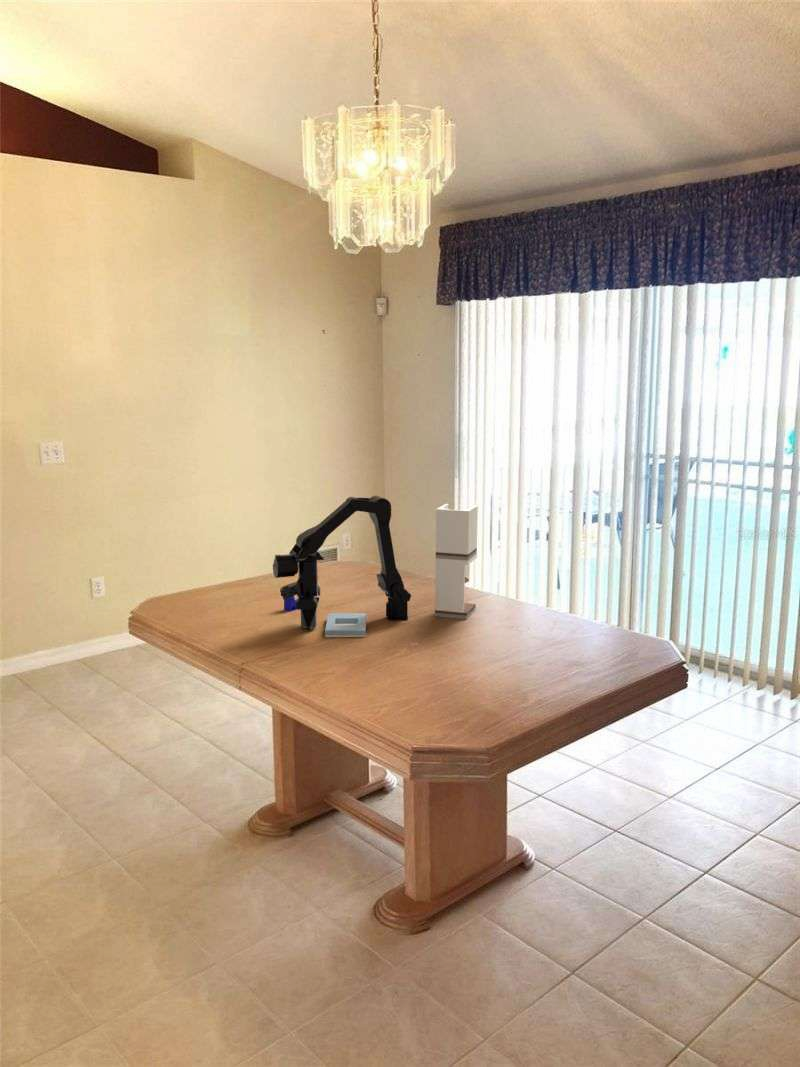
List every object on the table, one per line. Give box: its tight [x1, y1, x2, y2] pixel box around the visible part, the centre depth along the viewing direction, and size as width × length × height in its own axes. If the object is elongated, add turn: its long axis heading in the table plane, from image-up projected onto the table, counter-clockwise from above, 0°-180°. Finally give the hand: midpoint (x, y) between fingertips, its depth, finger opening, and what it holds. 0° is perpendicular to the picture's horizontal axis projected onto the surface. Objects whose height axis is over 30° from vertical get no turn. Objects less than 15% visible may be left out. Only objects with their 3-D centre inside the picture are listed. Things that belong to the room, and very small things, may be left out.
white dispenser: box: [434, 503, 479, 620], centre depth 281 cm, size 11×11×35 cm
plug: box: [300, 610, 317, 630], centre depth 267 cm, size 4×4×7 cm
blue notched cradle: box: [283, 595, 303, 612], centre depth 291 cm, size 12×4×6 cm, turn 144°
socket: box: [324, 612, 367, 638], centre depth 268 cm, size 12×18×2 cm, turn 1°
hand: (308, 624), depth 267 cm, fingers closed on plug, 4 cm apart
